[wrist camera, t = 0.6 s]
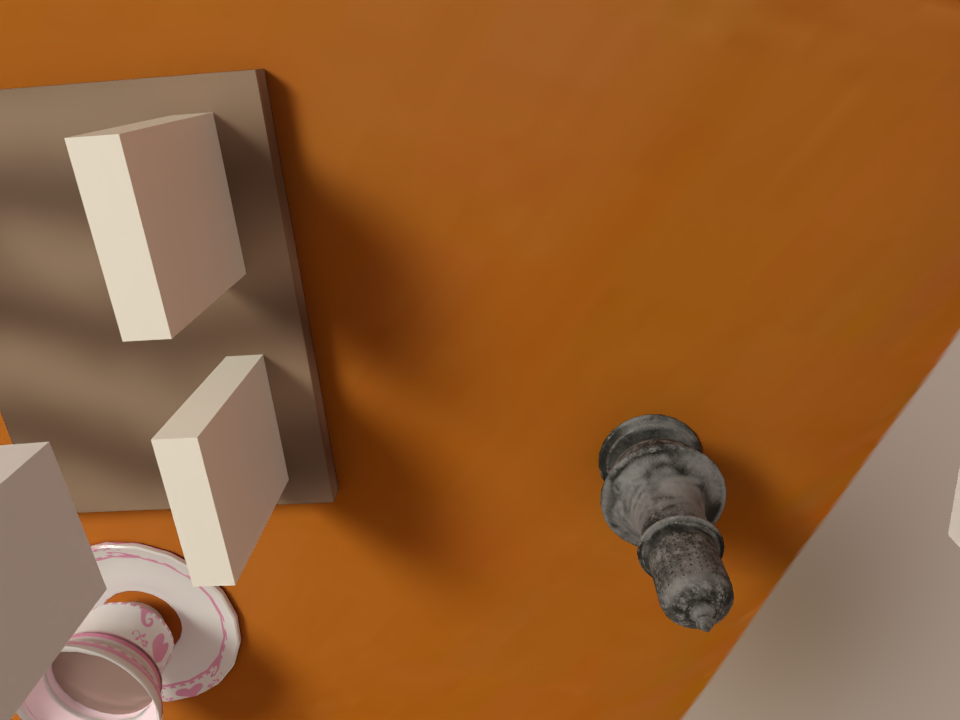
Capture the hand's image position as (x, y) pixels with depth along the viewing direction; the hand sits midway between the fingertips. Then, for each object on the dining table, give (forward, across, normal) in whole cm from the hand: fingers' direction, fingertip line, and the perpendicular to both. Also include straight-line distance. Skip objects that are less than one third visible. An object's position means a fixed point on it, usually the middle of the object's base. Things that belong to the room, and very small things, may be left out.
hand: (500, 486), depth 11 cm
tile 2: (+23, -13, -10) cm, 28 cm away
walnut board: (+24, -18, -4) cm, 30 cm away
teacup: (+24, -24, -23) cm, 41 cm away
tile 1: (+23, -13, +1) cm, 26 cm away
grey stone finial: (+24, +6, -15) cm, 29 cm away
